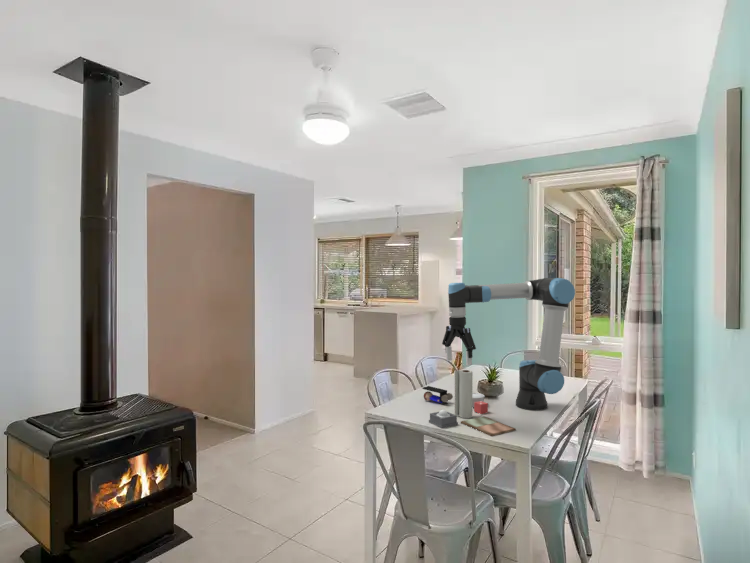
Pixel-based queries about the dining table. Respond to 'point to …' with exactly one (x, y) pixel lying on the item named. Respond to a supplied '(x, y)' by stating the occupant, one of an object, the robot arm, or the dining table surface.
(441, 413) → the pop dome
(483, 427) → the game board
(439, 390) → the figurine character
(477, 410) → the red die
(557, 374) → the robot arm
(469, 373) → the paper towel roll
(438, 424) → the button base
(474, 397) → the ramekin
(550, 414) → the dining table surface
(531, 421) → the dining table surface
